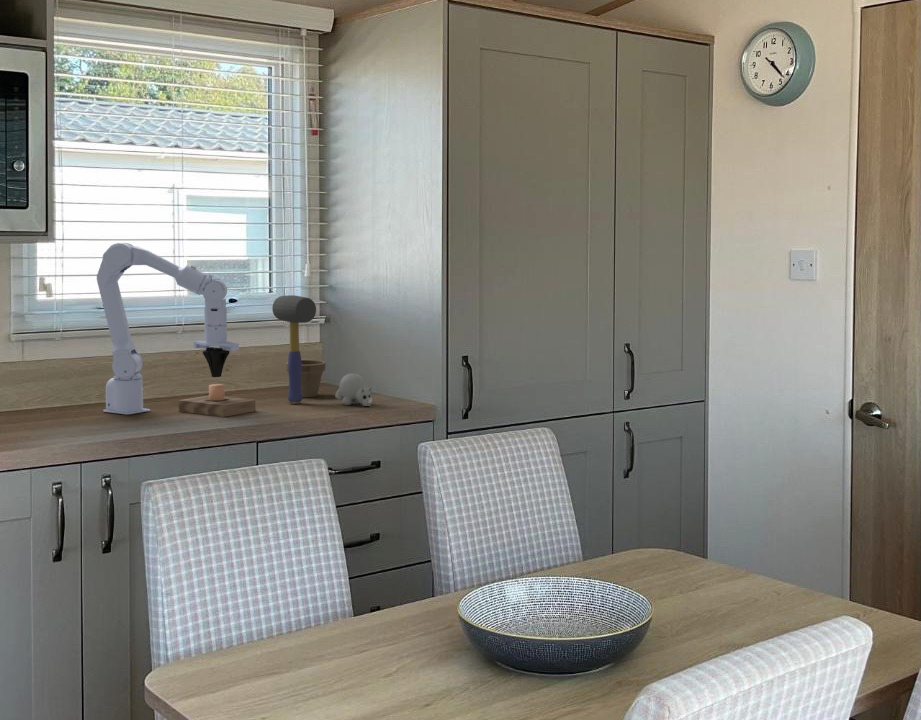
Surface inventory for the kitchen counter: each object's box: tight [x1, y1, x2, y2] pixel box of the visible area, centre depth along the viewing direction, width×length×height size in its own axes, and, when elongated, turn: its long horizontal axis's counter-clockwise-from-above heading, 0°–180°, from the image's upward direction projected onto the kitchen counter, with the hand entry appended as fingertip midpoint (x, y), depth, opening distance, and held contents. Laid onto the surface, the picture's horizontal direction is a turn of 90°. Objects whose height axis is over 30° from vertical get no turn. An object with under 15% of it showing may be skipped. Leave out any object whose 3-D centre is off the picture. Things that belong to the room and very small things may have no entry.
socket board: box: [178, 395, 256, 418], centre depth 299 cm, size 16×12×3 cm
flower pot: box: [285, 359, 327, 399], centre depth 327 cm, size 12×11×10 cm
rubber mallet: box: [271, 295, 317, 405], centre depth 311 cm, size 12×8×30 cm, turn 43°
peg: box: [208, 383, 226, 402], centre depth 298 cm, size 4×4×7 cm
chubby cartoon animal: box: [334, 373, 373, 407], centre depth 310 cm, size 7×12×8 cm, turn 45°
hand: (216, 376), depth 298 cm, fingers closed
